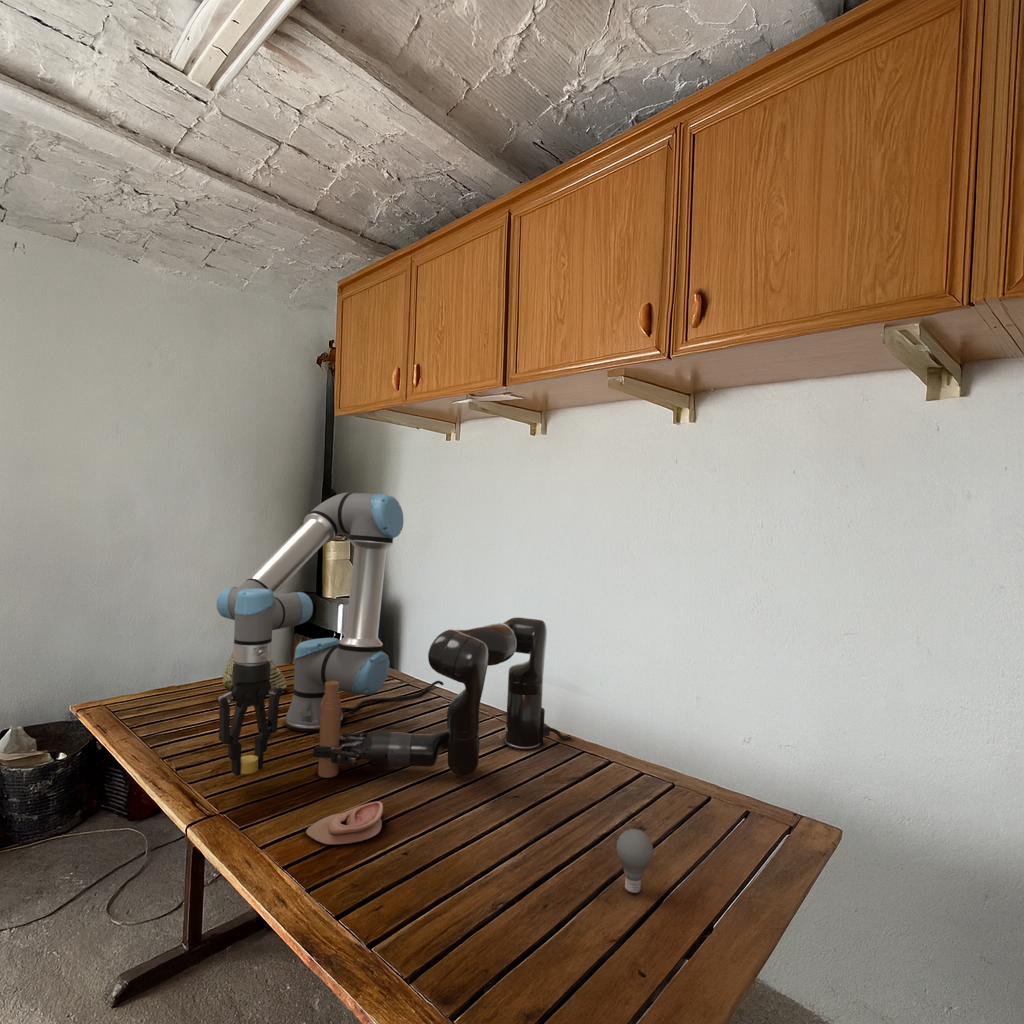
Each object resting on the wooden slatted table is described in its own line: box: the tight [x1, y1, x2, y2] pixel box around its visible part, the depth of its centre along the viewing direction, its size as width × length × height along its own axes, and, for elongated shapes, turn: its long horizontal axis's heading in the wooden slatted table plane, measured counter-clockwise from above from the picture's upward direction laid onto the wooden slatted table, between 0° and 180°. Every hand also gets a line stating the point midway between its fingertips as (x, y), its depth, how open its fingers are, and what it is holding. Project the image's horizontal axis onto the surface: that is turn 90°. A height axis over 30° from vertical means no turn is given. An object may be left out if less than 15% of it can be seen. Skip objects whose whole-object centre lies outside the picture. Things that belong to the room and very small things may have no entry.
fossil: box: [222, 652, 288, 699], centre depth 198 cm, size 9×18×15 cm, turn 132°
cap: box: [240, 754, 259, 775], centre depth 136 cm, size 4×4×2 cm
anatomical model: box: [305, 800, 384, 846], centre depth 121 cm, size 13×4×12 cm
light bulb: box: [615, 828, 654, 894], centre depth 106 cm, size 6×6×10 cm
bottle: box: [317, 681, 342, 779], centre depth 145 cm, size 5×5×21 cm
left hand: (247, 770), depth 136 cm, fingers closed on cap, 4 cm apart
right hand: (317, 747), depth 145 cm, fingers closed on bottle, 4 cm apart
